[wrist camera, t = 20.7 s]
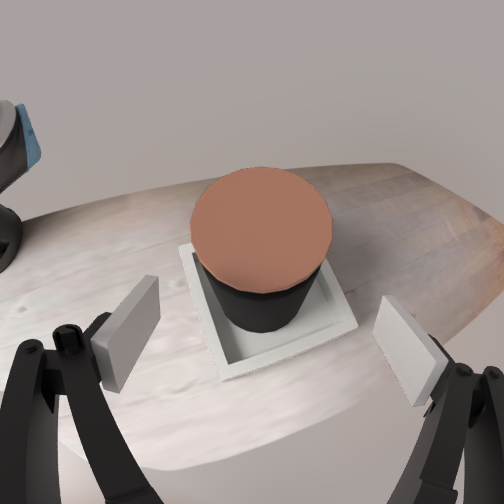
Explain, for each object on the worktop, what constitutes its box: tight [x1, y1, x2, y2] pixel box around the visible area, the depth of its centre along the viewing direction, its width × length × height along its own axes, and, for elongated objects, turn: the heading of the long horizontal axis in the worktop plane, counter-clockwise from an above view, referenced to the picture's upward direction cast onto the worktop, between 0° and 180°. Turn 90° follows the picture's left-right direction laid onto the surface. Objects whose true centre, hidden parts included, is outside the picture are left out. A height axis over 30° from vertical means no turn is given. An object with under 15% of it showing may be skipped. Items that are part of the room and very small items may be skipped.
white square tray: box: [178, 243, 359, 382], centre depth 38 cm, size 18×18×6 cm
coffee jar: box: [190, 167, 333, 334], centre depth 29 cm, size 11×11×18 cm
